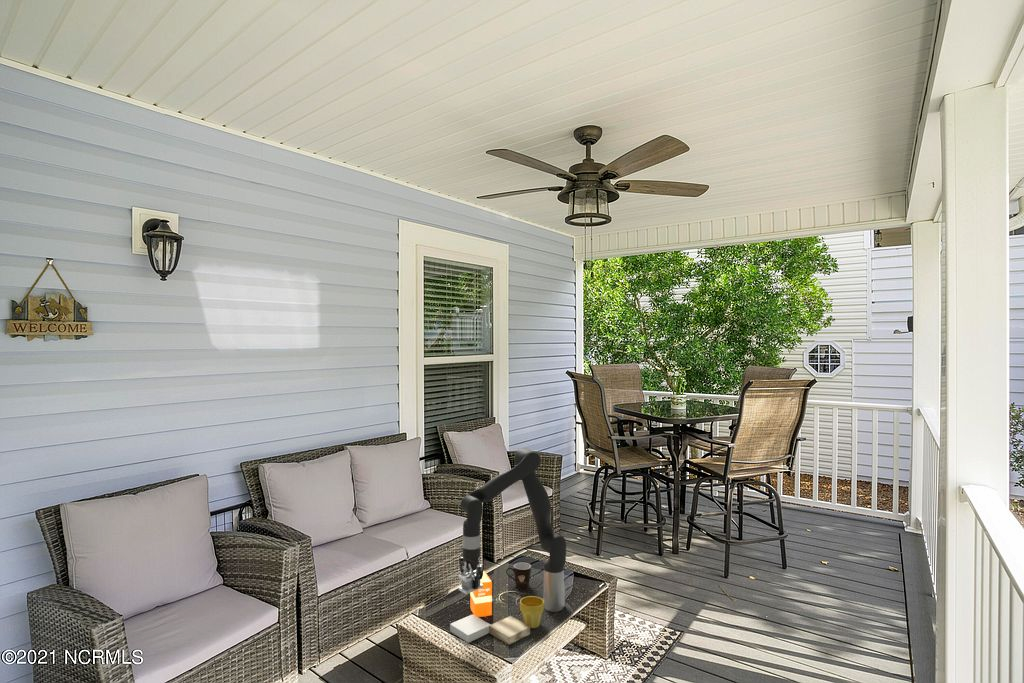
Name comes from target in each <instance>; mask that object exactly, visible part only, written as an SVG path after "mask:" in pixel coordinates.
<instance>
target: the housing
mask: <svg viewBox="0 0 1024 683" xmlns="http://www.w3.org/2000/svg"><path fill="white" fill-rule="evenodd" d="M475 571H476V570H475ZM475 571H473V572H475ZM479 576H480V575H479ZM475 577H476V574H475ZM458 579H460V580H461V586H458V591H460V592H461V593H464V594H465V595H469V594H470V592H473V591H476V590H478V589H481V588H483V584H481V583H480V580H478V588H477V589H473V576H472V575H471V572H467V573H464V574H463V573H461V574H459V575H458Z"/></svg>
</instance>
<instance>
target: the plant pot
mask: <svg viewBox="0 0 1024 683" xmlns="http://www.w3.org/2000/svg"><path fill="white" fill-rule="evenodd" d="M519 610H520V611H521V615H522V622H523V623H525V624H526V625H528V626H530V629H537V628H539V627H540V624H541V619H542V616H543V615H542V614H543V612H544V611H545V609H544V600H543V598H542V597H540V596H535V595H532V596H531V595H530V596H529V595H528V596H525V597H522V598H520V600H519Z"/></svg>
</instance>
